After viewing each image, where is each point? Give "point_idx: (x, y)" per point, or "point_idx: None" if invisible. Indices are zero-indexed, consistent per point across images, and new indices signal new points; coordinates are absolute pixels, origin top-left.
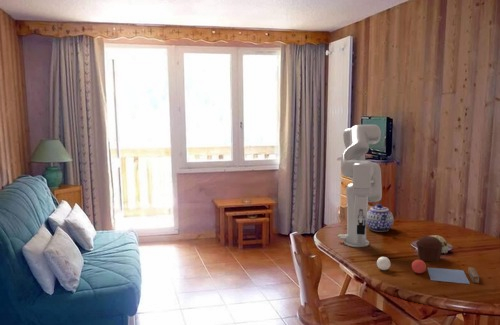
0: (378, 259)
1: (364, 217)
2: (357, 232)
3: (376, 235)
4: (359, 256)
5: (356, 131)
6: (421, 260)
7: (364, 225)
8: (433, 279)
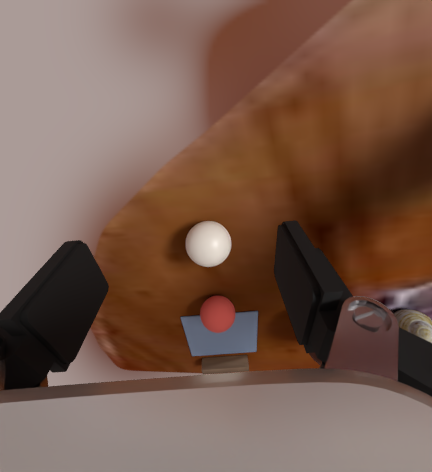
0: (201, 238)
1: None
2: (63, 253)
3: None
4: (334, 134)
5: None
6: (219, 332)
7: (52, 368)
8: (185, 320)
